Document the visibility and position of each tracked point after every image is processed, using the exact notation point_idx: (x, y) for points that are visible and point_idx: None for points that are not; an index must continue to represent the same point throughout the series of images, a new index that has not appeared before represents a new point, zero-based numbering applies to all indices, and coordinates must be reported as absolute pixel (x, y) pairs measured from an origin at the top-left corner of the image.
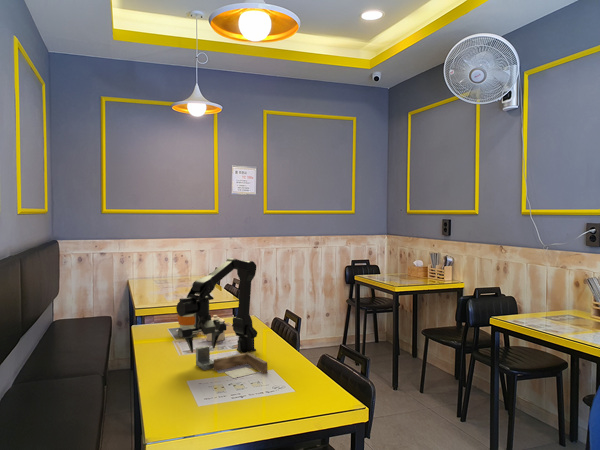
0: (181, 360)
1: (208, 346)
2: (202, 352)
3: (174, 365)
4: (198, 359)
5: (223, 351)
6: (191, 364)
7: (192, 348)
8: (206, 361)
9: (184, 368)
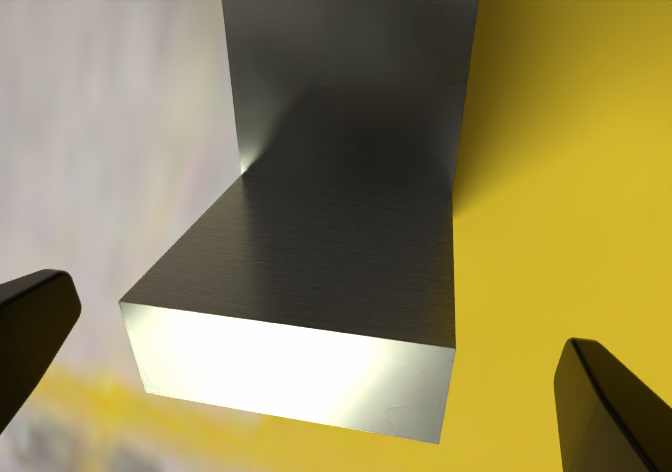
0: (491, 445)
1: (136, 331)
2: (335, 261)
3: (668, 382)
4: (439, 206)
5: (42, 378)
6: (480, 280)
7: (638, 417)
8: (333, 87)
9: (666, 205)
